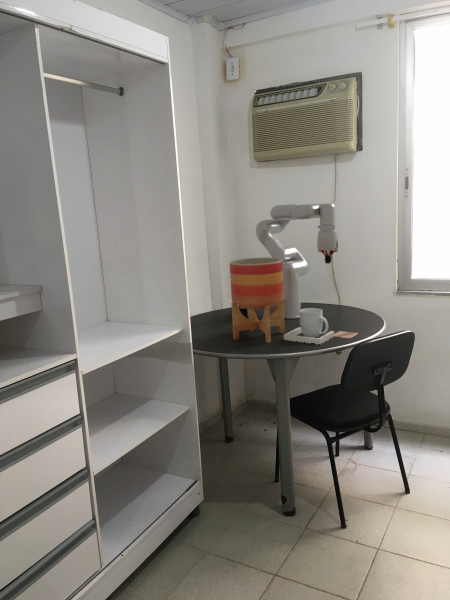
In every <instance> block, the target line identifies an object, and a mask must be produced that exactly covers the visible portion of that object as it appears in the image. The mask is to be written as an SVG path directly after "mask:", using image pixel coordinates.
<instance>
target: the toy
mask: <svg viewBox="0 0 450 600" xmlns="http://www.w3.org/2000/svg"><path fill="white" fill-rule="evenodd" d="M238 307H239V305H238ZM239 310H240V312H241V313H242V315H243V316H244V317H246V318H247V319H249V315H248V309H247V308H242V307H239Z"/></svg>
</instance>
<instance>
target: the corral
mask: <svg viewBox="0 0 450 600" xmlns="http://www.w3.org/2000/svg"><path fill="white" fill-rule="evenodd" d="M300 334H303V333H302V330H301V327H300V326H298V327H296V328H294V329H293V330H291V331H289V332H285V333H283V340H284V341H291V342H296V341H297V343H298V342H299V343H304V342H305V344H311V343H315V344H314V345H319V344H320V345H322V344H324V343H326V342H328V341H329V340H331V339H332V338H335V337H334V334H335V331H334V330H330V331H328V332H326V333H324V334H322V335H321V336H320V337H317V338H313V337H305V336H304V335H300ZM330 338H331V339H330ZM325 341H326V342H325ZM323 342H324V343H323ZM321 343H322V344H321Z"/></svg>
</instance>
